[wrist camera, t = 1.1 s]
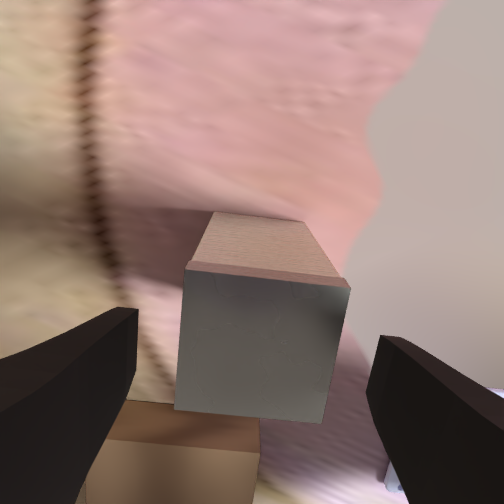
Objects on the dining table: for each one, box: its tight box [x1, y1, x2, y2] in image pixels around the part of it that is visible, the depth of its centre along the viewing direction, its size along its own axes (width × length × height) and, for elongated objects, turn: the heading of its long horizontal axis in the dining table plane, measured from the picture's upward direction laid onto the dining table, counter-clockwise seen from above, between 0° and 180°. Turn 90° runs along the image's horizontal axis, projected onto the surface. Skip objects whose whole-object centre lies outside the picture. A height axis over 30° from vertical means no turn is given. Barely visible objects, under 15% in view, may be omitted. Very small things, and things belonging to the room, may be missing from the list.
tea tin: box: [174, 211, 351, 424], centre depth 15 cm, size 5×5×9 cm
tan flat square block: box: [86, 400, 261, 504], centre depth 22 cm, size 9×9×3 cm
